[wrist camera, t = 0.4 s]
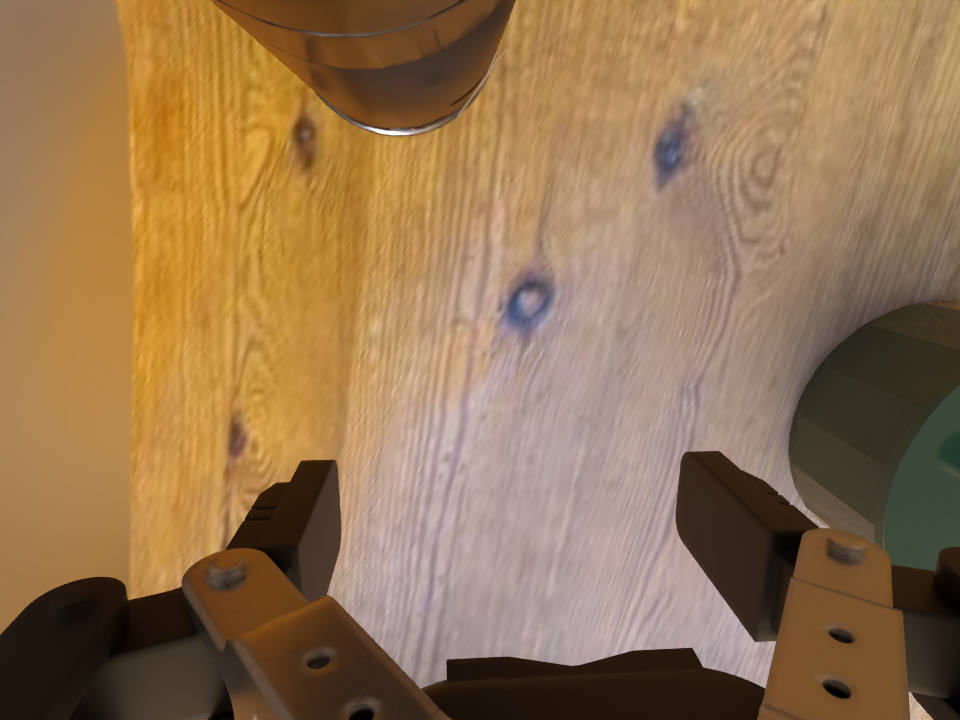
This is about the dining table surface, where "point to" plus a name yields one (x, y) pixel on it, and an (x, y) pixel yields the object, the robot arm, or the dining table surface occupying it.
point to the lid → (923, 485)
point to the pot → (868, 409)
